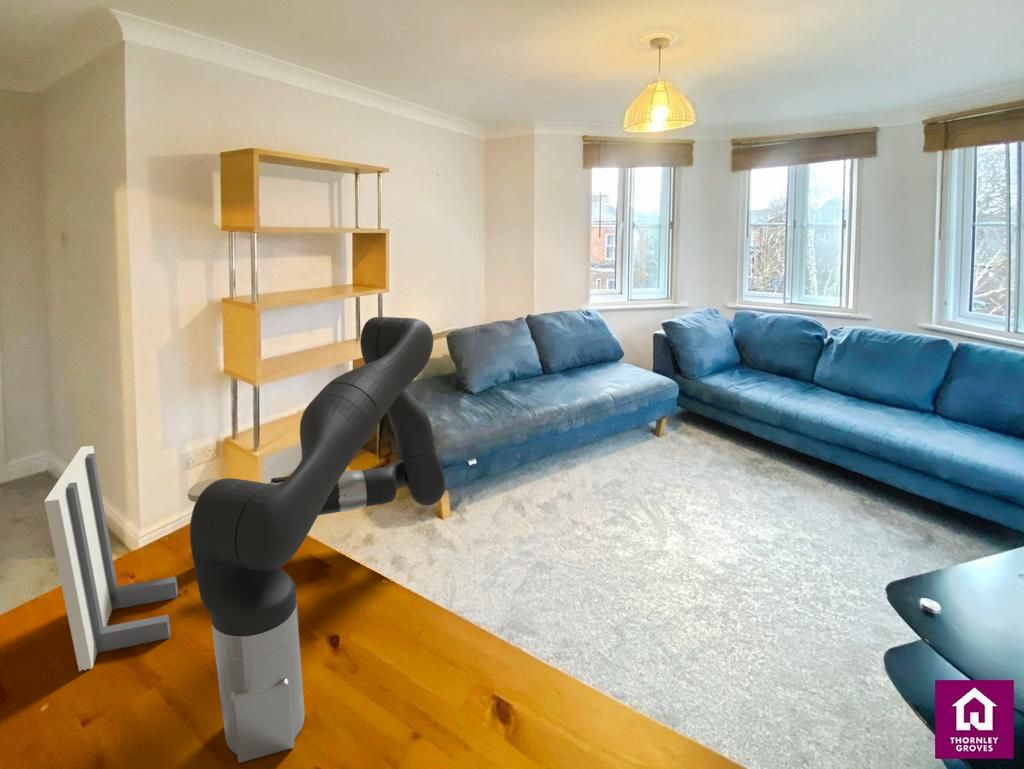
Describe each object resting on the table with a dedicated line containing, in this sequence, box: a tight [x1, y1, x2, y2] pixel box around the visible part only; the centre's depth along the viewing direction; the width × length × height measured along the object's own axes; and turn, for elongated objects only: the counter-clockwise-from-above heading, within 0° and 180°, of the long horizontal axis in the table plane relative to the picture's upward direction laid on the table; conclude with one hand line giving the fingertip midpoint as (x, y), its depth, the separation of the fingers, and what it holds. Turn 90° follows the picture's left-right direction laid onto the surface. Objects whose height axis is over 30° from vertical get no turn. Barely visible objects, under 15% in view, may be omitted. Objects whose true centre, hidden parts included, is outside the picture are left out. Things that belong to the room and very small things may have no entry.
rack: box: [44, 445, 179, 672], centre depth 88 cm, size 18×10×26 cm, turn 23°
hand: (245, 504), depth 106 cm, fingers open, 8 cm apart
